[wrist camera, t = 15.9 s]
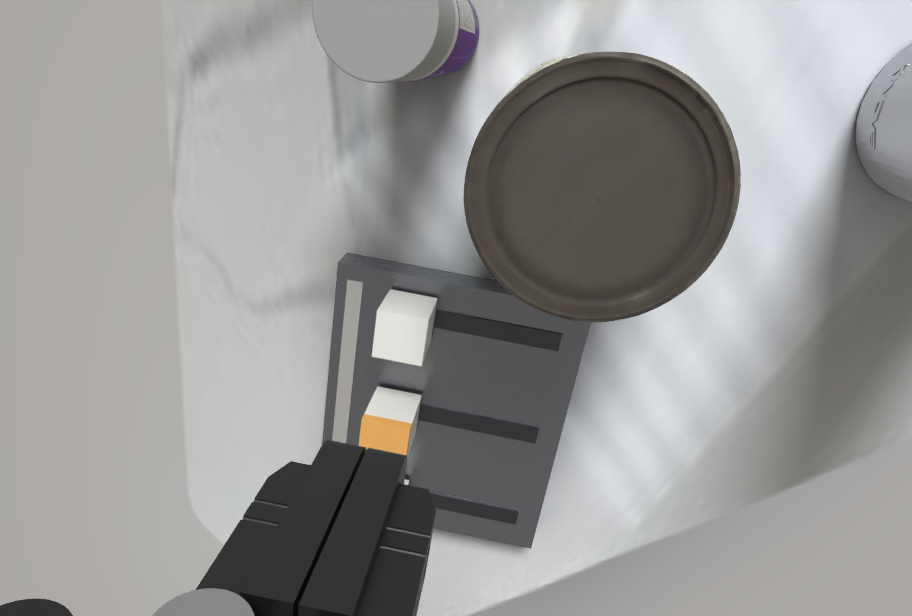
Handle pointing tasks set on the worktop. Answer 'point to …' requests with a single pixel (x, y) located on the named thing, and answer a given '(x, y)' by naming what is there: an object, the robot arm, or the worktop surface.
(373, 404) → the block
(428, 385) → the breaker panel
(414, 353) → the block
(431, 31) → the container
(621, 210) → the coffee can
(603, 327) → the worktop surface
